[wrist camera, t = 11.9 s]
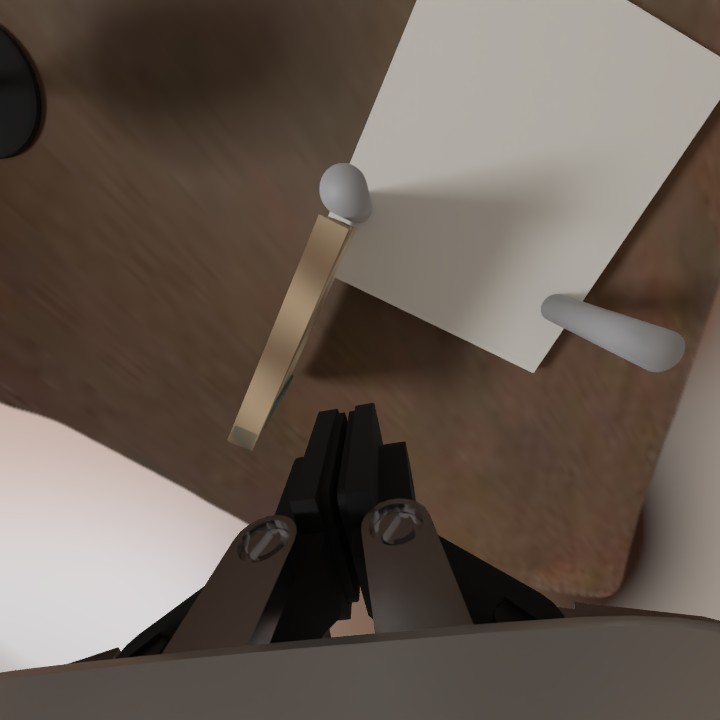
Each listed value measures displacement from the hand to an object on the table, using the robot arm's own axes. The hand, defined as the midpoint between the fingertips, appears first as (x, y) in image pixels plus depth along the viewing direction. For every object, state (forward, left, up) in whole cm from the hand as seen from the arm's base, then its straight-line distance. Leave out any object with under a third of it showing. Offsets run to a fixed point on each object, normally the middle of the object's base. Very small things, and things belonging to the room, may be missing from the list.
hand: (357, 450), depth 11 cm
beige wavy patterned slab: (-5, -3, -23) cm, 24 cm away
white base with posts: (+5, +14, -25) cm, 29 cm away
